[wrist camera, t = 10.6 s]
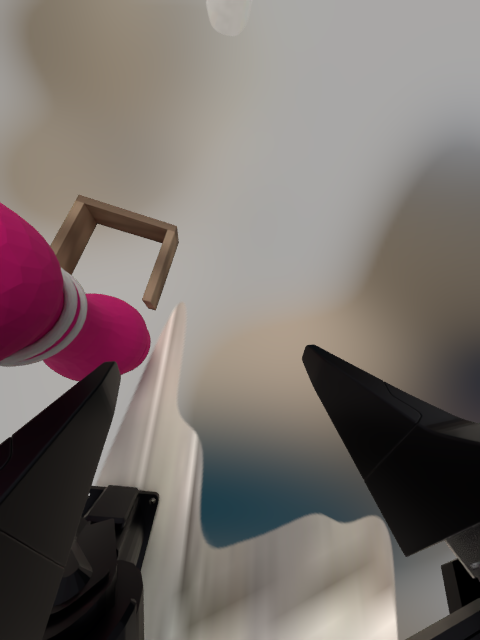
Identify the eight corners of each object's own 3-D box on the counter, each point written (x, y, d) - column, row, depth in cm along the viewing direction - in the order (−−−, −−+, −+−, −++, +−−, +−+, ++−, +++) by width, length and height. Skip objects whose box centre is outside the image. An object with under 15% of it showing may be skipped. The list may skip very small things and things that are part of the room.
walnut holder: (155, 310, 22) (150, 301, 20) (56, 285, 21) (35, 272, 18) (178, 242, 25) (176, 226, 22) (92, 215, 23) (78, 194, 21)
